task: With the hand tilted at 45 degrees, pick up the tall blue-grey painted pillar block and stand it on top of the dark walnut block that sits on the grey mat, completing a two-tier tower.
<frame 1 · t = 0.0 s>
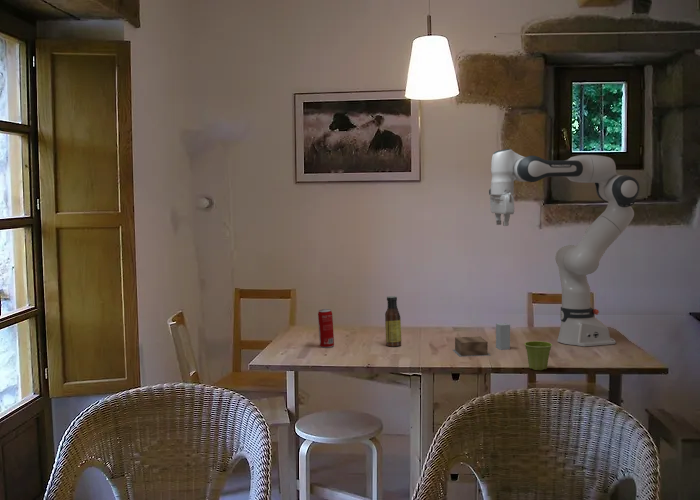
hand: (502, 225, 292), 48 cm above the table, tool pointing down, fingers open, 8 cm apart
sauce bottle: (393, 345, 297), on the table
plant pot: (538, 368, 256), on the table
walnut base block: (471, 352, 280), resting on grey mat
beverage can: (326, 347, 296), on the table
pillar block: (502, 349, 287), on the table
grey mat: (471, 353, 281), on the table
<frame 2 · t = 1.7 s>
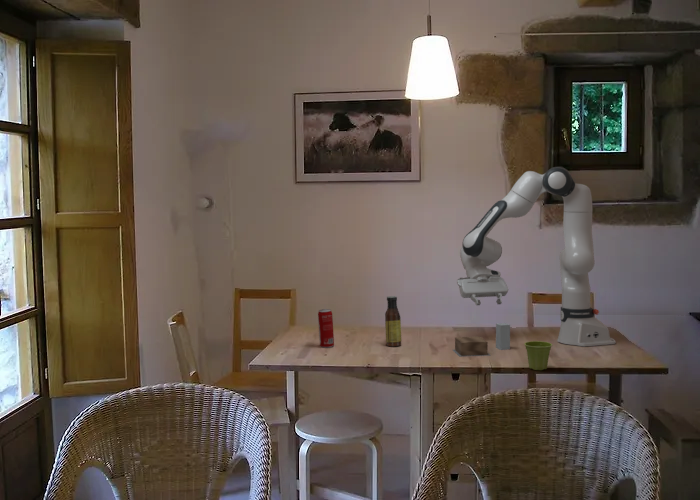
hand: (489, 304, 297), 16 cm above the table, tool tilted 45°, fingers open, 8 cm apart
nothing on the table moved.
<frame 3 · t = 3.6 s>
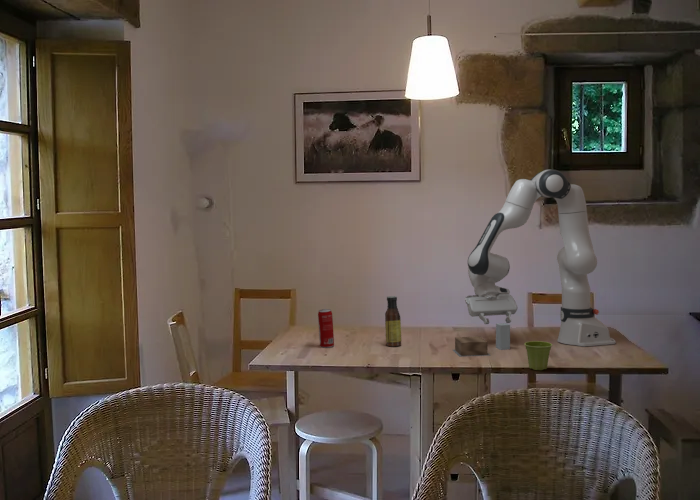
hand: (498, 322, 290), 10 cm above the table, tool tilted 45°, fingers open, 8 cm apart
nothing on the table moved.
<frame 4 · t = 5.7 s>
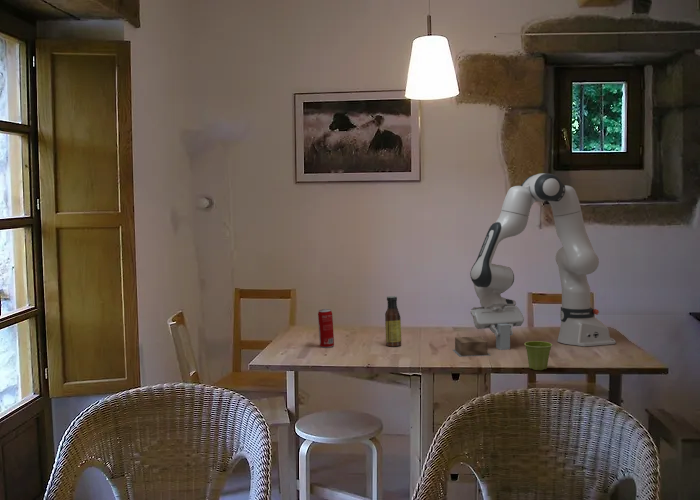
hand: (504, 335, 285), 6 cm above the table, tool tilted 45°, fingers closed on pillar block, 4 cm apart
pillar block: (502, 349, 287), on the table, touching gripper
everything else where it was.
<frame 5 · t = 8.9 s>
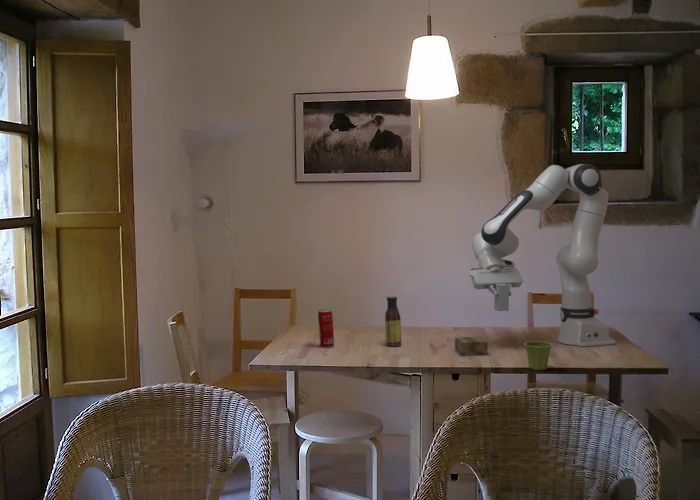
hand: (503, 295, 284), 21 cm above the table, tool tilted 45°, fingers closed on pillar block, 4 cm apart
pillar block: (501, 310, 285), point 16 cm above the table, touching gripper
everything else where it was.
when the fingers open (12 cm above the table, at t = 12.6 s): pillar block stays where it is, resting on walnut base block.
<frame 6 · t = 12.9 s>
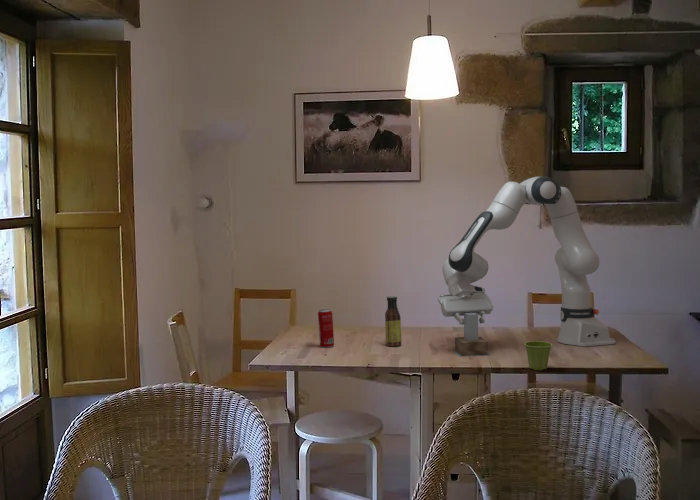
hand: (472, 323, 278), 12 cm above the table, tool tilted 45°, fingers open, 7 cm apart
walnut base block: (471, 352, 280), resting on grey mat, touching pillar block
pillar block: (471, 339, 280), point 5 cm above the table, touching walnut base block
everything else where it was.
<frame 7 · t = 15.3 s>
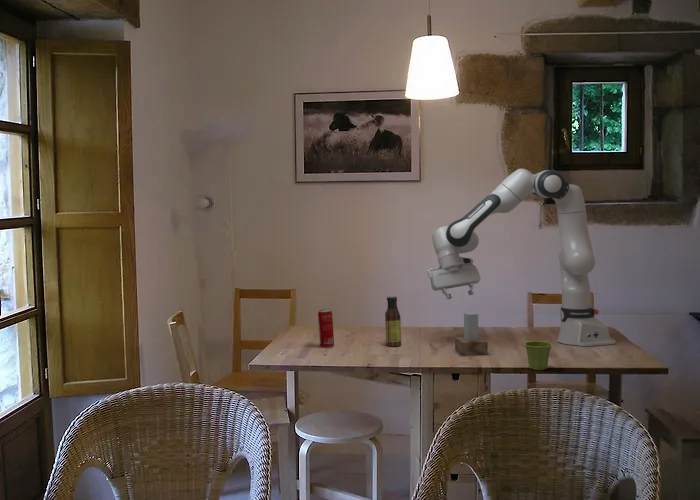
hand: (460, 296, 293), 20 cm above the table, tool tilted 30°, fingers open, 8 cm apart
nothing on the table moved.
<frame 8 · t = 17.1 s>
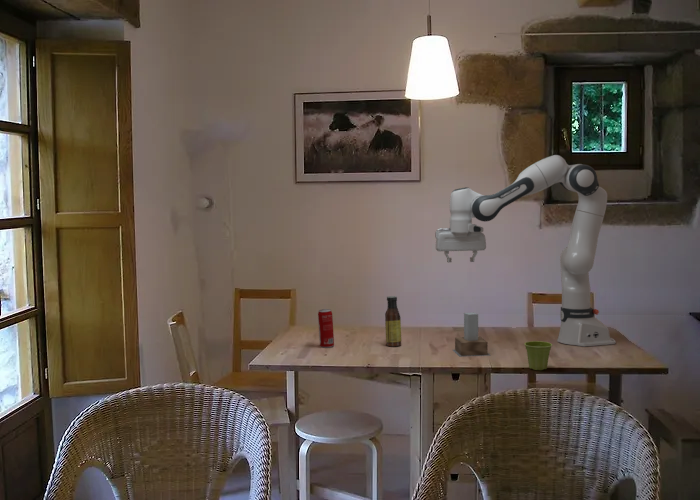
hand: (460, 262, 298), 33 cm above the table, tool pointing down, fingers open, 8 cm apart
nothing on the table moved.
at the end: pillar block inside the target area on the walnut base block (0.0 cm from its centre), point 5.0 cm above the walnut base block's base; pillar block tilted 0°; the gripper is holding nothing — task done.
